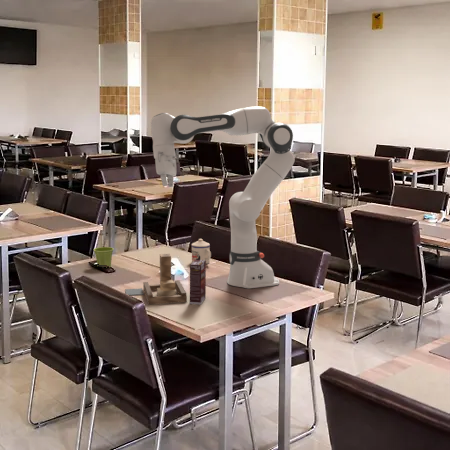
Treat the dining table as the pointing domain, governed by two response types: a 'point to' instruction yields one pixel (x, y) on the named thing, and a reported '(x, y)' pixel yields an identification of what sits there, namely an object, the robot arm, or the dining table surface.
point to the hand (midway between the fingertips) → (168, 186)
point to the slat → (165, 267)
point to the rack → (164, 299)
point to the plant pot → (104, 255)
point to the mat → (134, 291)
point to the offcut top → (167, 285)
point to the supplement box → (197, 282)
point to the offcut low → (165, 292)
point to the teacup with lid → (201, 251)
